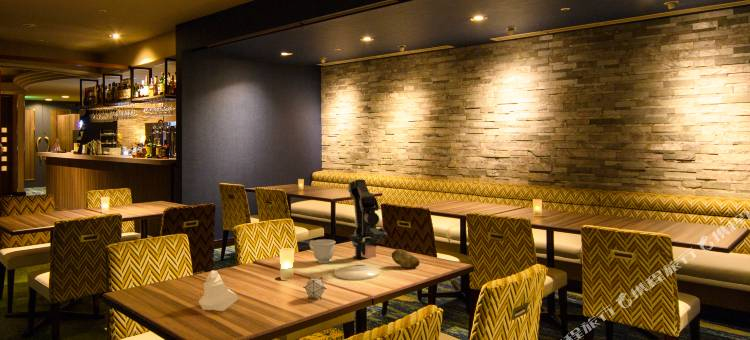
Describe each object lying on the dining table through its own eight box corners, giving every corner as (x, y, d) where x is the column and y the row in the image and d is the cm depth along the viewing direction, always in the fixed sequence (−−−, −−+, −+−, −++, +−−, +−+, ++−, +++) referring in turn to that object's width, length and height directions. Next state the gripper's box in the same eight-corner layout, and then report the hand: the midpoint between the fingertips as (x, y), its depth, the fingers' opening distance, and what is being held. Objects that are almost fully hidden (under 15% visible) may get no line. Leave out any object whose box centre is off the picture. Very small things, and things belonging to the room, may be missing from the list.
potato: (410, 270, 247) (410, 253, 246) (389, 266, 255) (388, 249, 254) (421, 267, 253) (421, 250, 252) (399, 263, 261) (399, 246, 261)
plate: (325, 273, 244) (325, 270, 244) (361, 266, 256) (361, 263, 256) (351, 282, 228) (351, 279, 228) (388, 274, 240) (388, 272, 240)
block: (361, 256, 258) (361, 246, 258) (369, 254, 261) (369, 244, 261) (367, 258, 254) (367, 247, 254) (375, 256, 257) (375, 246, 257)
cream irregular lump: (205, 319, 189) (193, 281, 188) (201, 310, 203) (189, 274, 201) (240, 305, 194) (228, 268, 192) (233, 297, 208) (222, 262, 206)
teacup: (318, 257, 275) (317, 237, 274) (340, 261, 266) (340, 241, 266) (301, 261, 265) (301, 241, 265) (324, 266, 257) (324, 245, 256)
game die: (316, 309, 205) (314, 293, 199) (300, 298, 209) (297, 282, 203) (332, 293, 211) (329, 277, 204) (315, 282, 215) (313, 266, 208)
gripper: (362, 226, 245) (362, 260, 246) (394, 222, 256) (394, 254, 257) (348, 223, 254) (348, 256, 255) (379, 219, 265) (379, 250, 266)
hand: (368, 254), depth 258 cm, fingers closed on block, 5 cm apart
